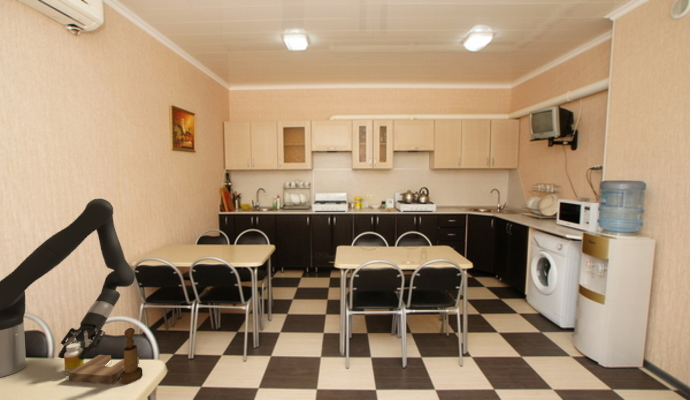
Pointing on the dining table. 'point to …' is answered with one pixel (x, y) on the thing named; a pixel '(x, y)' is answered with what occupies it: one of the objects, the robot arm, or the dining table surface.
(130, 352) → the mortar and pestle
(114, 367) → the notched board
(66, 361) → the supplement bottle
